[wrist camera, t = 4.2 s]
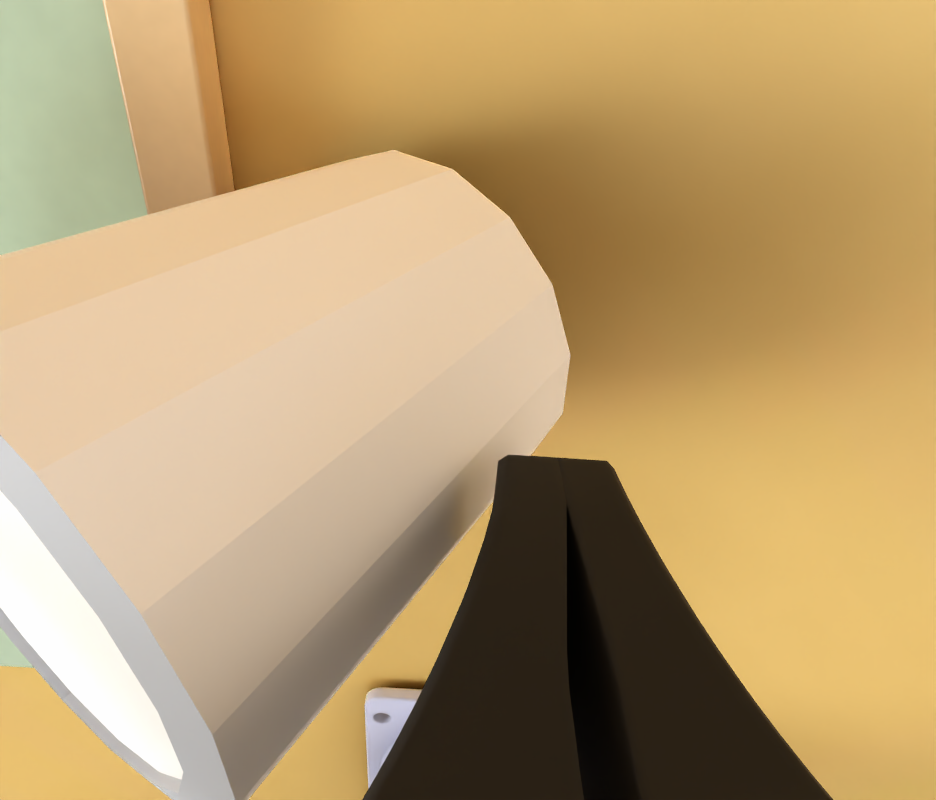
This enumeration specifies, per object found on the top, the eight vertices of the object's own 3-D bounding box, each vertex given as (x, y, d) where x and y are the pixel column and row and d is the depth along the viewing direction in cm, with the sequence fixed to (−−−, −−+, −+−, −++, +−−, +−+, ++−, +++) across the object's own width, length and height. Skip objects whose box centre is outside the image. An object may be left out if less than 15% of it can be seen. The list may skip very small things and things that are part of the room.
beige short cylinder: (227, 190, 14) (-206, 360, 10) (480, 18, 9) (-160, 206, 5) (391, 497, 16) (87, 755, 12) (677, 489, 11) (335, 933, 7)
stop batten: (278, 503, 18) (267, 535, 17) (225, 500, 18) (213, 532, 17) (194, -118, 11) (170, -110, 10) (106, -124, 10) (74, -118, 10)
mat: (258, 672, 22) (256, 681, 22) (-21, 655, 22) (-27, 664, 22) (122, -40, 11) (114, -36, 11) (-440, -80, 11) (-461, -77, 11)
